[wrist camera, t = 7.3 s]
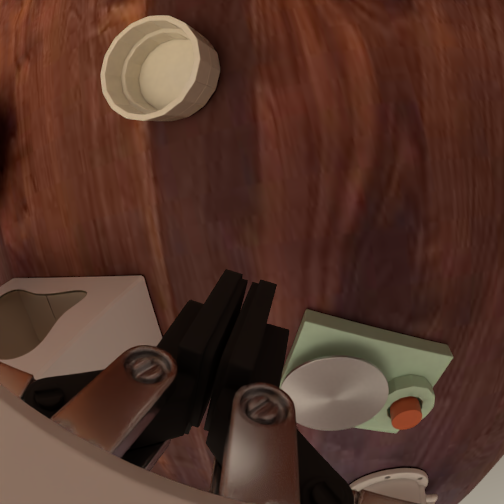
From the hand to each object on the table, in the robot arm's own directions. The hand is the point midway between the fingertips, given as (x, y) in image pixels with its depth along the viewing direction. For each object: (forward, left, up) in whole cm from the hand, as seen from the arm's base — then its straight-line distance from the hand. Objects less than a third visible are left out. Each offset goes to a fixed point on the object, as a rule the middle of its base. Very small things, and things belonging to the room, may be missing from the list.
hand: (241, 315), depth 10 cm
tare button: (-15, +13, -11) cm, 23 cm away
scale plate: (-8, +13, -10) cm, 18 cm away
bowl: (+10, -8, -14) cm, 19 cm away
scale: (-11, +13, -14) cm, 22 cm away
